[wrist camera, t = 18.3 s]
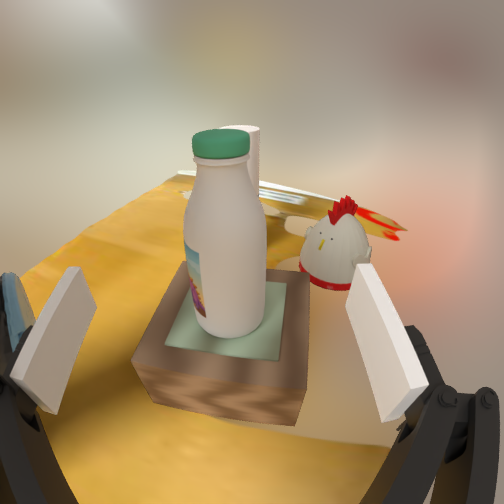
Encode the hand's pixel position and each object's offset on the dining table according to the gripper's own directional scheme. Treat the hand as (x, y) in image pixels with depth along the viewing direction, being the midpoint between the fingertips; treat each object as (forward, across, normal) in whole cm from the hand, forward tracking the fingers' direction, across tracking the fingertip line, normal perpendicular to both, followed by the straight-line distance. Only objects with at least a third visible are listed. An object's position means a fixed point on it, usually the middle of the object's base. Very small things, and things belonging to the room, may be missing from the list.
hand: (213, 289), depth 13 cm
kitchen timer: (+34, +19, -26) cm, 47 cm away
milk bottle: (+13, 0, -16) cm, 21 cm away
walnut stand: (+14, 0, -26) cm, 29 cm away
